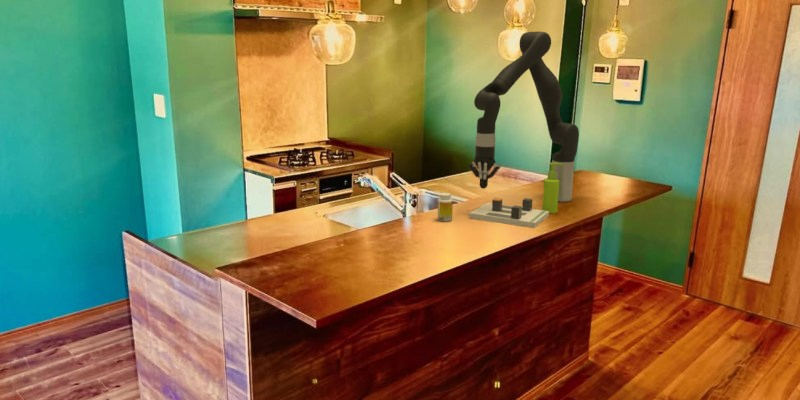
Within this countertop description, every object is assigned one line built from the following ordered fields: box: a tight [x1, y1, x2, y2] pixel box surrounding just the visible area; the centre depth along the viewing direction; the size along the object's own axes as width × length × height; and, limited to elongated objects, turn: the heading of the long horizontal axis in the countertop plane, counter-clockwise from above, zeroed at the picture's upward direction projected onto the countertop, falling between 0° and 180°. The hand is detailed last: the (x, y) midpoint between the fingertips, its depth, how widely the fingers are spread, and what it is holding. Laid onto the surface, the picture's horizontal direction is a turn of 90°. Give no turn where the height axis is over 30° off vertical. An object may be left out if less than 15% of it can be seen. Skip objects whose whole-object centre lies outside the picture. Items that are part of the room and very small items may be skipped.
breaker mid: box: [492, 197, 503, 211], centre depth 220 cm, size 3×3×4 cm
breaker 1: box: [511, 205, 522, 219], centre depth 210 cm, size 3×3×4 cm
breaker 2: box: [522, 198, 533, 211], centre depth 221 cm, size 3×3×4 cm
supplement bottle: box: [437, 192, 454, 223], centre depth 214 cm, size 6×6×10 cm
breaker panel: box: [468, 202, 550, 229], centre depth 219 cm, size 18×26×2 cm
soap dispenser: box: [541, 162, 563, 214], centre depth 224 cm, size 6×7×20 cm
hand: (483, 188), depth 222 cm, fingers closed
